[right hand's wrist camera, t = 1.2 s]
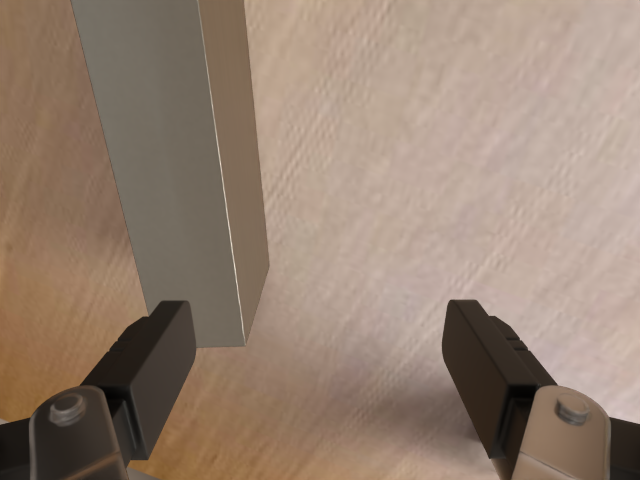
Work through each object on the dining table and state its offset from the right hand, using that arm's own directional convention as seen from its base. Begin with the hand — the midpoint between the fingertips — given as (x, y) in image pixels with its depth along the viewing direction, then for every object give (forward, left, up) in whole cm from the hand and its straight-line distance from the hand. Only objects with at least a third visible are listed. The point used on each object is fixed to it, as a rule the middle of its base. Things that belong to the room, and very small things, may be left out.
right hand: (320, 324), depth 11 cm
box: (+4, +9, -24) cm, 26 cm away
